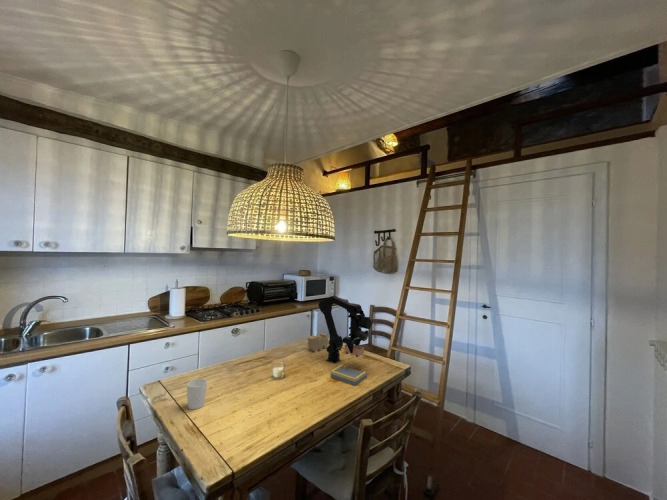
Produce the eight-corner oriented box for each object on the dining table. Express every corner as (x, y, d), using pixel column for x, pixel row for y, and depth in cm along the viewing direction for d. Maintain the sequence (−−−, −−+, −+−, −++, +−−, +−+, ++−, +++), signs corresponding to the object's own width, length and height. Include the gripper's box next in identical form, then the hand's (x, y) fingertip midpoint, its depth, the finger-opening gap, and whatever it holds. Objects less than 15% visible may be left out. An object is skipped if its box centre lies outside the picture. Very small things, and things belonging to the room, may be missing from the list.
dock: (330, 377, 155) (330, 370, 155) (343, 369, 166) (343, 363, 166) (355, 385, 146) (355, 379, 146) (367, 377, 157) (367, 370, 157)
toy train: (329, 347, 202) (329, 333, 202) (312, 353, 190) (312, 338, 190) (324, 345, 206) (324, 332, 206) (306, 351, 194) (307, 336, 194)
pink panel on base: (344, 353, 168) (344, 345, 168) (349, 350, 173) (349, 342, 173) (359, 357, 163) (359, 348, 163) (363, 354, 168) (364, 346, 168)
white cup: (192, 400, 127) (193, 378, 127) (209, 400, 127) (210, 379, 127) (182, 409, 120) (183, 386, 120) (200, 410, 119) (201, 387, 119)
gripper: (359, 331, 156) (358, 359, 156) (373, 325, 171) (373, 350, 171) (342, 328, 162) (341, 354, 162) (358, 321, 177) (357, 346, 177)
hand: (354, 351), depth 168 cm, fingers closed on pink panel on base, 6 cm apart
